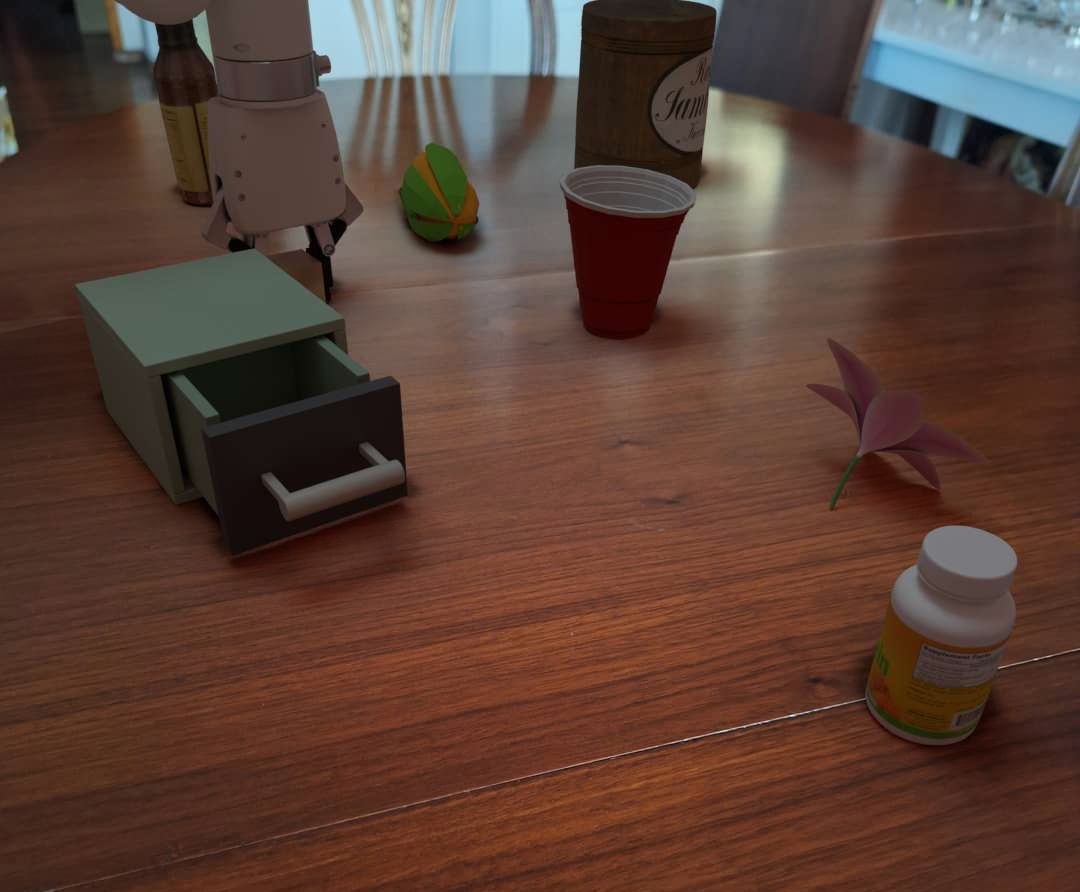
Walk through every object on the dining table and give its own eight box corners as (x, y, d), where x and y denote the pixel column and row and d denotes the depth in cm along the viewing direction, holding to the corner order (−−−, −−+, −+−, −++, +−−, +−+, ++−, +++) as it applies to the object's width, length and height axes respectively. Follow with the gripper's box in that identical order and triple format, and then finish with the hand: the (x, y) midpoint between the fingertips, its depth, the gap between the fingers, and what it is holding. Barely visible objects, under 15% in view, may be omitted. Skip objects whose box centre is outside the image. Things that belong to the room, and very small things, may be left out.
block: (283, 317, 88) (277, 271, 86) (265, 301, 91) (258, 257, 89) (326, 307, 90) (321, 262, 88) (307, 292, 93) (301, 248, 90)
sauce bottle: (236, 187, 117) (206, -10, 105) (241, 204, 112) (210, 0, 100) (176, 192, 115) (138, -8, 104) (178, 210, 110) (139, 2, 99)
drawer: (442, 528, 62) (437, 412, 57) (261, 594, 56) (238, 472, 52) (315, 408, 73) (302, 304, 69) (155, 454, 68) (129, 344, 63)
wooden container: (685, 204, 115) (706, -21, 102) (557, 188, 118) (563, -30, 106) (711, 168, 126) (733, -38, 113) (594, 155, 130) (603, -45, 117)
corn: (413, 177, 95) (385, 122, 111) (412, 257, 100) (385, 194, 115) (492, 178, 97) (453, 124, 113) (487, 257, 101) (450, 194, 117)
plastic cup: (665, 362, 82) (679, 212, 75) (537, 340, 85) (539, 193, 78) (696, 311, 91) (712, 171, 84) (579, 293, 93) (584, 156, 86)
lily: (975, 564, 63) (1044, 414, 61) (815, 511, 59) (883, 350, 57) (868, 512, 74) (923, 384, 72) (728, 464, 70) (782, 328, 68)
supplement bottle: (865, 662, 54) (907, 506, 48) (974, 684, 53) (1030, 527, 47) (860, 734, 50) (905, 574, 44) (979, 760, 48) (1040, 598, 43)
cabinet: (358, 449, 71) (345, 317, 65) (175, 506, 65) (144, 366, 59) (272, 368, 80) (254, 247, 75) (107, 411, 74) (74, 283, 69)
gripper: (343, 58, 86) (362, 270, 97) (142, 81, 78) (186, 309, 89) (386, 75, 81) (401, 297, 92) (175, 101, 73) (218, 340, 84)
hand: (295, 300), depth 90 cm, fingers closed on block, 4 cm apart
